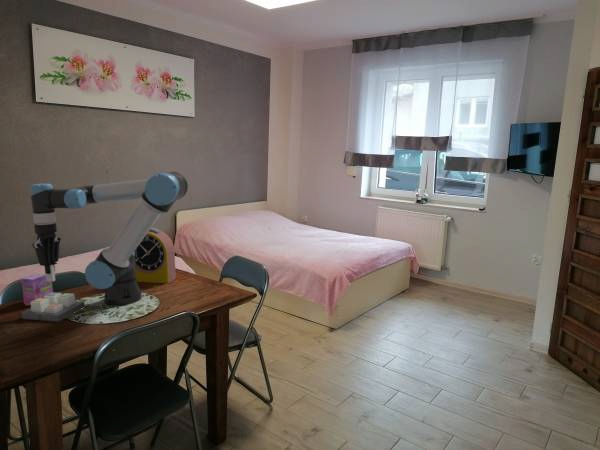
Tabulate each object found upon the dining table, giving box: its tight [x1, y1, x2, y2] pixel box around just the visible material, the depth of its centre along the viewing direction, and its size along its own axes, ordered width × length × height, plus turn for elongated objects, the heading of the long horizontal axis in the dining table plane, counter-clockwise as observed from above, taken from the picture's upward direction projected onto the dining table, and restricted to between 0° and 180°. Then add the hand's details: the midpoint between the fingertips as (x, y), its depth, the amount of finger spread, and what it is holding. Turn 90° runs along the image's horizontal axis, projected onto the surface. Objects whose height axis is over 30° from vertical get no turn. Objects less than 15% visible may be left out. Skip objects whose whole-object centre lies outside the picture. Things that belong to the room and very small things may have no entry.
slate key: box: [44, 291, 63, 305], centre depth 175 cm, size 4×4×4 cm
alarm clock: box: [134, 227, 177, 284], centre depth 214 cm, size 21×9×26 cm, turn 80°
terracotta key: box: [44, 303, 63, 313], centre depth 168 cm, size 4×4×4 cm
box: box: [20, 271, 54, 306], centre depth 184 cm, size 10×6×12 cm, turn 168°
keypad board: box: [21, 300, 86, 323], centre depth 172 cm, size 16×15×2 cm
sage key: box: [57, 292, 76, 307], centre depth 174 cm, size 4×4×4 cm
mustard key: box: [30, 298, 49, 312], centre depth 168 cm, size 4×4×4 cm
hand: (51, 280), depth 173 cm, fingers closed
